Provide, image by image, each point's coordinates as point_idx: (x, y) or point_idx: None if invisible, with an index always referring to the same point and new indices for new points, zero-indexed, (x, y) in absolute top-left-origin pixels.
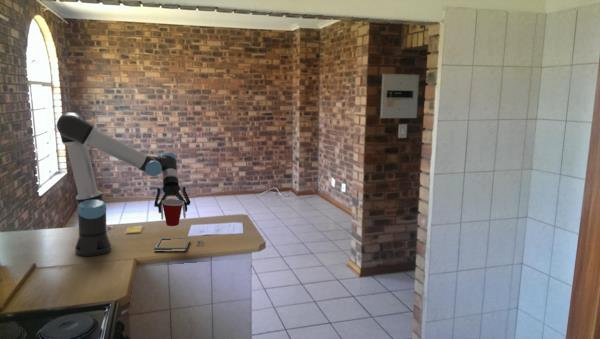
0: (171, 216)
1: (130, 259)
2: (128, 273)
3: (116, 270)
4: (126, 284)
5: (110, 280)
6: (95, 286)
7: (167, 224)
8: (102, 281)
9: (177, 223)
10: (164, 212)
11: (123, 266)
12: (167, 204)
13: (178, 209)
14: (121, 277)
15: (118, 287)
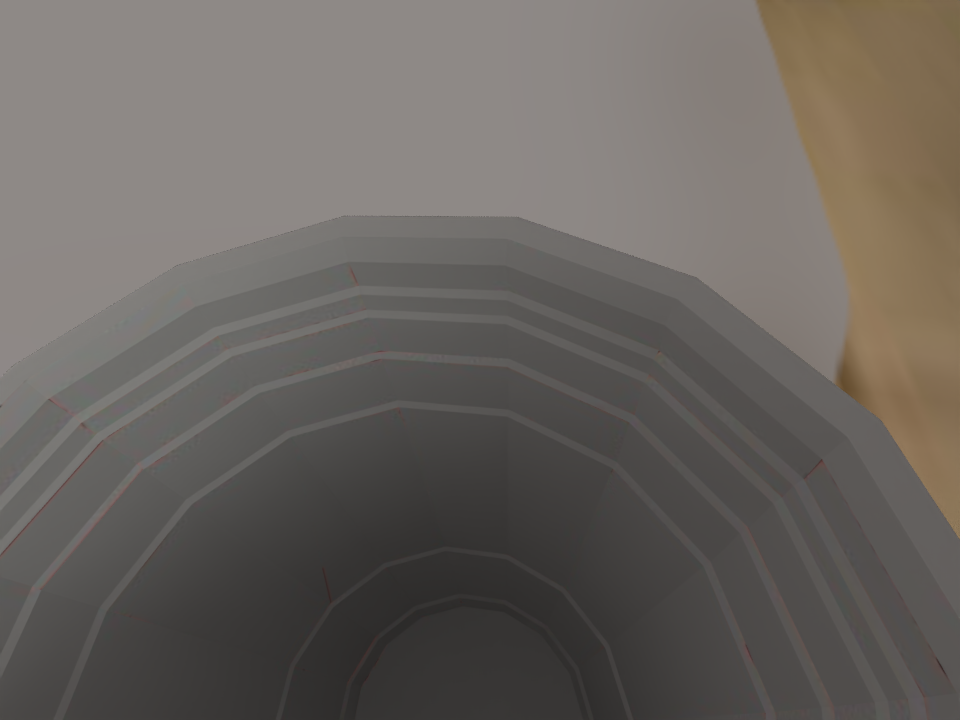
0: (476, 508)
1: (895, 389)
2: (807, 145)
3: (920, 194)
4: (768, 29)
5: (890, 73)
6: (947, 21)
7: (571, 655)
8: (937, 66)
9: (371, 624)
10: (681, 643)
11: (896, 253)
12: (591, 247)
13: (236, 457)
14: (834, 100)
15: (803, 6)
